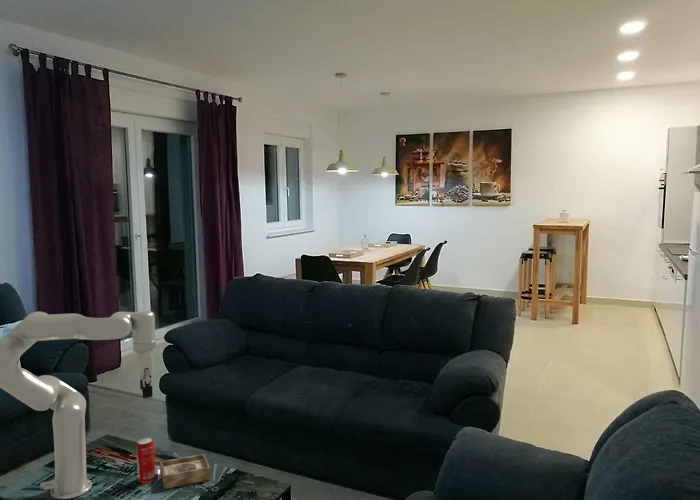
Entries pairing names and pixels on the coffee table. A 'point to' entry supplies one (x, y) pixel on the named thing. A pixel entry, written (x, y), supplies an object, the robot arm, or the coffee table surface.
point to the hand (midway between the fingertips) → (146, 392)
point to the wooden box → (184, 471)
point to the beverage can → (145, 460)
